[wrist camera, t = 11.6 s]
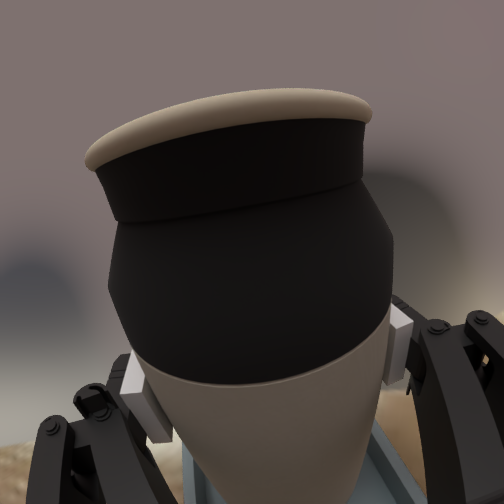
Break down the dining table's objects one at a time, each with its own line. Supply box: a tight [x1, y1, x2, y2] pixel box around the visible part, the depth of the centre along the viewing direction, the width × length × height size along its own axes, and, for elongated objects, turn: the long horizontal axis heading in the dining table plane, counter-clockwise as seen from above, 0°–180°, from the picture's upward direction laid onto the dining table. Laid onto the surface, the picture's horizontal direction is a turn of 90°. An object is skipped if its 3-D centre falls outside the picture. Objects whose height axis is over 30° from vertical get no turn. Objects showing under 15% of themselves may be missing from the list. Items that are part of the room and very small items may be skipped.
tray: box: [182, 418, 427, 504], centre depth 13 cm, size 12×12×3 cm
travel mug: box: [85, 88, 393, 504], centre depth 10 cm, size 8×8×18 cm
